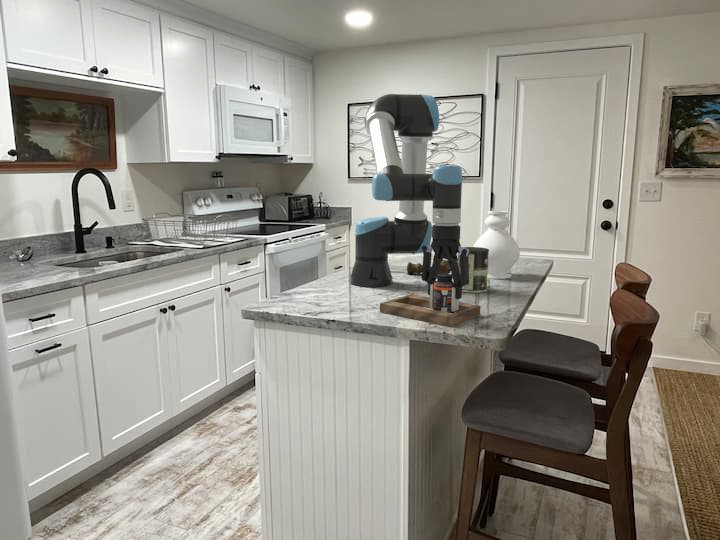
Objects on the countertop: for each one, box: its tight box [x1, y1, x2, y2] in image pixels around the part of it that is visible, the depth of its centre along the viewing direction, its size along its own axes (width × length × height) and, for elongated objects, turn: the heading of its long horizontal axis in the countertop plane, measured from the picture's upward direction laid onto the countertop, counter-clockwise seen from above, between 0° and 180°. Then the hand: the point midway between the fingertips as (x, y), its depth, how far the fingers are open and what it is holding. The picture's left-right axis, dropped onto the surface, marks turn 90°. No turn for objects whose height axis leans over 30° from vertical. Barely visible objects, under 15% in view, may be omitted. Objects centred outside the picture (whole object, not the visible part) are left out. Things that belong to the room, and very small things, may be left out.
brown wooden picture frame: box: [379, 293, 482, 327], centre depth 148 cm, size 23×16×2 cm
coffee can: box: [457, 246, 489, 294], centre depth 178 cm, size 10×10×14 cm
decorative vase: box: [472, 210, 521, 280], centre depth 203 cm, size 18×18×25 cm
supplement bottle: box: [433, 273, 455, 314], centre depth 144 cm, size 6×6×11 cm
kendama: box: [406, 259, 451, 275], centre depth 205 cm, size 6×10×20 cm
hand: (444, 308), depth 145 cm, fingers closed on supplement bottle, 6 cm apart
